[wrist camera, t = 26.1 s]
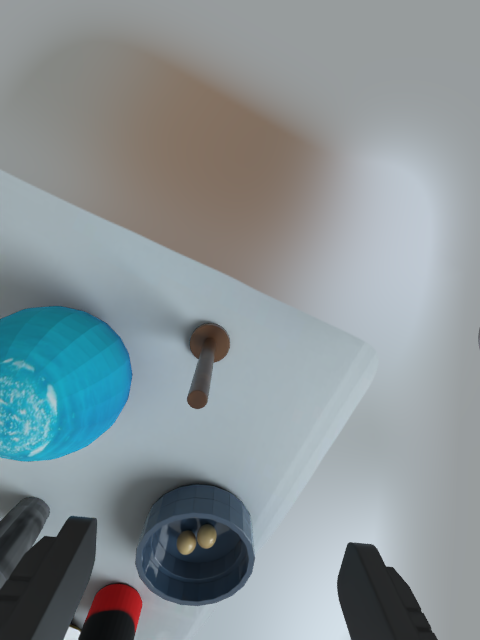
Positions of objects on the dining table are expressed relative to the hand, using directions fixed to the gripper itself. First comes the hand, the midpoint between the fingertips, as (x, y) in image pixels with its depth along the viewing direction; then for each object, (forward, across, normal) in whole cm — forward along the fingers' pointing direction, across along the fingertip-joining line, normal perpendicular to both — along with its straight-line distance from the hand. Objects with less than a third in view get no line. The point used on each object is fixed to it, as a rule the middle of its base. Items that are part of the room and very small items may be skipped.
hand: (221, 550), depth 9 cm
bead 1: (+26, +2, +32) cm, 41 cm away
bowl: (+28, 0, +31) cm, 42 cm away
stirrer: (+28, +2, +2) cm, 28 cm away
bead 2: (+26, -1, +30) cm, 40 cm away
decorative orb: (+28, +17, +6) cm, 34 cm away
